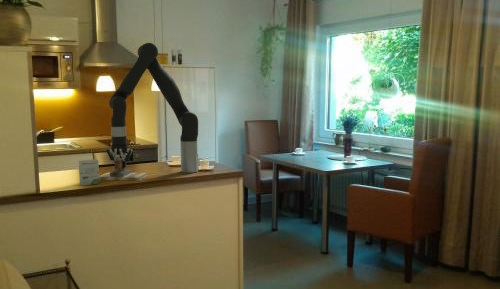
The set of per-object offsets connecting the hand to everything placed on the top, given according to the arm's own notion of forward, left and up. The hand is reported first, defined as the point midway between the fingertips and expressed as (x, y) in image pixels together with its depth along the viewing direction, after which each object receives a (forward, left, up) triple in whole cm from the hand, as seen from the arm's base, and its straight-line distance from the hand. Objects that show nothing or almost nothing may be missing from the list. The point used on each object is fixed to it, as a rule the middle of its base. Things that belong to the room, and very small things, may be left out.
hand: (120, 168), depth 233 cm
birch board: (-1, 0, -5) cm, 5 cm away
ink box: (+10, +16, -5) cm, 20 cm away
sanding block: (0, 0, -4) cm, 4 cm away
